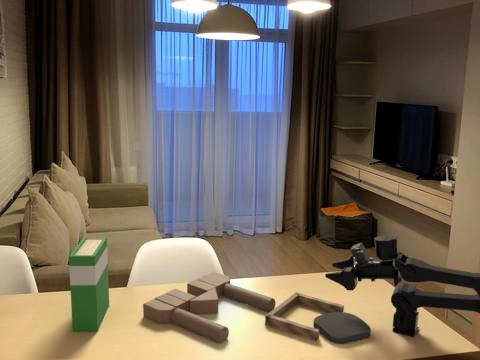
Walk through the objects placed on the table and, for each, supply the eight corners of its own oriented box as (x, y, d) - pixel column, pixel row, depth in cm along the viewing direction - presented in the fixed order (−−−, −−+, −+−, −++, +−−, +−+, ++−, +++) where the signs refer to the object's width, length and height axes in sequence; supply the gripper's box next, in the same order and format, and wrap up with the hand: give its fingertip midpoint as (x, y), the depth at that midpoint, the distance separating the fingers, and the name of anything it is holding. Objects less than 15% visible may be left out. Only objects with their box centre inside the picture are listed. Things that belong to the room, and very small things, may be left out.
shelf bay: (343, 313, 165) (343, 305, 165) (316, 341, 148) (317, 331, 147) (295, 300, 174) (295, 292, 174) (265, 324, 157) (265, 315, 156)
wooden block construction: (143, 318, 160) (213, 349, 143) (142, 302, 159) (213, 332, 142) (213, 284, 188) (279, 307, 170) (213, 270, 187) (280, 292, 169)
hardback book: (86, 305, 167) (83, 237, 163) (109, 305, 168) (106, 237, 163) (72, 332, 150) (68, 256, 145) (97, 331, 151) (94, 256, 146)
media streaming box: (335, 347, 145) (335, 338, 145) (308, 324, 158) (308, 316, 158) (375, 338, 151) (376, 328, 150) (346, 316, 164) (347, 308, 164)
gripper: (379, 235, 163) (332, 237, 169) (369, 255, 146) (317, 256, 153) (383, 268, 164) (337, 268, 171) (374, 291, 148) (322, 290, 154)
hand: (329, 270), depth 162 cm, fingers open, 9 cm apart
